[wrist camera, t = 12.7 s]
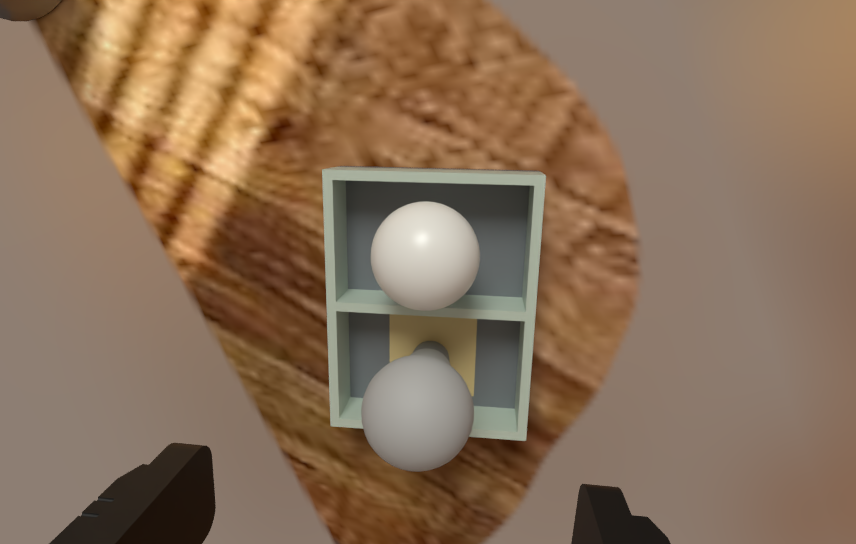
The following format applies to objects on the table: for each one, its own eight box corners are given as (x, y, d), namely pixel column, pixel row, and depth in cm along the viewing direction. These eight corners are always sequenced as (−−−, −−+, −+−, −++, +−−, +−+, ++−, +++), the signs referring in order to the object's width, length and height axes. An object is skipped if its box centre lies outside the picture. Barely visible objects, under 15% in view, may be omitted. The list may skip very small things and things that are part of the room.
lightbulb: (404, 401, 37) (371, 507, 26) (377, 324, 35) (331, 402, 25) (487, 382, 36) (487, 484, 25) (461, 301, 34) (451, 373, 24)
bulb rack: (346, 396, 39) (302, 479, 29) (341, 165, 34) (286, 176, 25) (521, 408, 37) (533, 499, 28) (538, 170, 33) (559, 183, 24)
